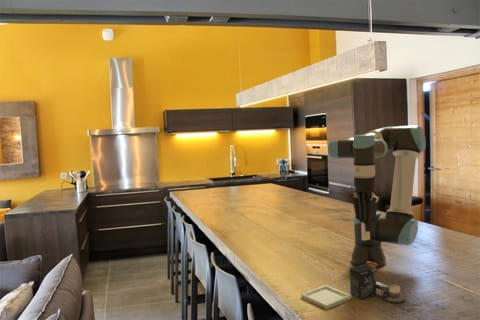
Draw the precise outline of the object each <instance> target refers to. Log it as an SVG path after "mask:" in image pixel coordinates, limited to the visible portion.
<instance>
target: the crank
mask: <svg viewBox="0 0 480 320" xmlns="http://www.w3.org/2000/svg"><path fill="white" fill-rule="evenodd" d="M367 264H369V265H370V266H372V267H374V268H376V267H375V266H377V263H373V262H370V261H367ZM376 290H380V291H382V292H387V295H388V296H390V297H399V296H400V293H401V286H400V285H398V284H394V283H393V284H392V283H391V284H385V283H382V282H379V281H376Z"/></svg>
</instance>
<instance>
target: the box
mask: <svg viewBox="0 0 480 320" xmlns="http://www.w3.org/2000/svg"><path fill="white" fill-rule="evenodd" d="M349 274H350V275H349V277H350V278H349V280H350V281H349V282H350V285H349V286H350V295H352V297H354V298H356V299H358V300H362V299H363V300H364V299H366V298H370V297H373V296H377V289H376V282H377V267H375V268H374V267H372V266H370V265H367V264H364V265H360V266H358V265H355V266H351V267H349Z"/></svg>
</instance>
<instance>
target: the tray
mask: <svg viewBox="0 0 480 320" xmlns="http://www.w3.org/2000/svg"><path fill="white" fill-rule="evenodd" d="M300 297H301V298H302V299H303V300H305V301H308V302H309V303H312V304H314V305H317V306H319V307H321V308H323V309H325V310H328V309H331V308H334V307H336V306H339V305H341V304H344V303H347V302H348V301H351V300H352V299H353V295H351V293H347V292H345V291H342V290H339V289H337V288H334V287H332V286H329V285H327V284H325V285H322V286H320V287H316V288H313V289H311V290H308V291H305V292H303V293H301V296H300Z"/></svg>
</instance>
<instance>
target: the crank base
mask: <svg viewBox="0 0 480 320" xmlns="http://www.w3.org/2000/svg"><path fill="white" fill-rule="evenodd" d="M406 298H407V297H406V295H405V294H404V293H402V292H400V296H399V297H390V296H388V295H387V292H385V291H382V294H381V299H382V300H383V301H384V300H385V301H384V302H386V301H387V303H389V302H390V304H404V303H405V302H406V300H407V299H406Z"/></svg>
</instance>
